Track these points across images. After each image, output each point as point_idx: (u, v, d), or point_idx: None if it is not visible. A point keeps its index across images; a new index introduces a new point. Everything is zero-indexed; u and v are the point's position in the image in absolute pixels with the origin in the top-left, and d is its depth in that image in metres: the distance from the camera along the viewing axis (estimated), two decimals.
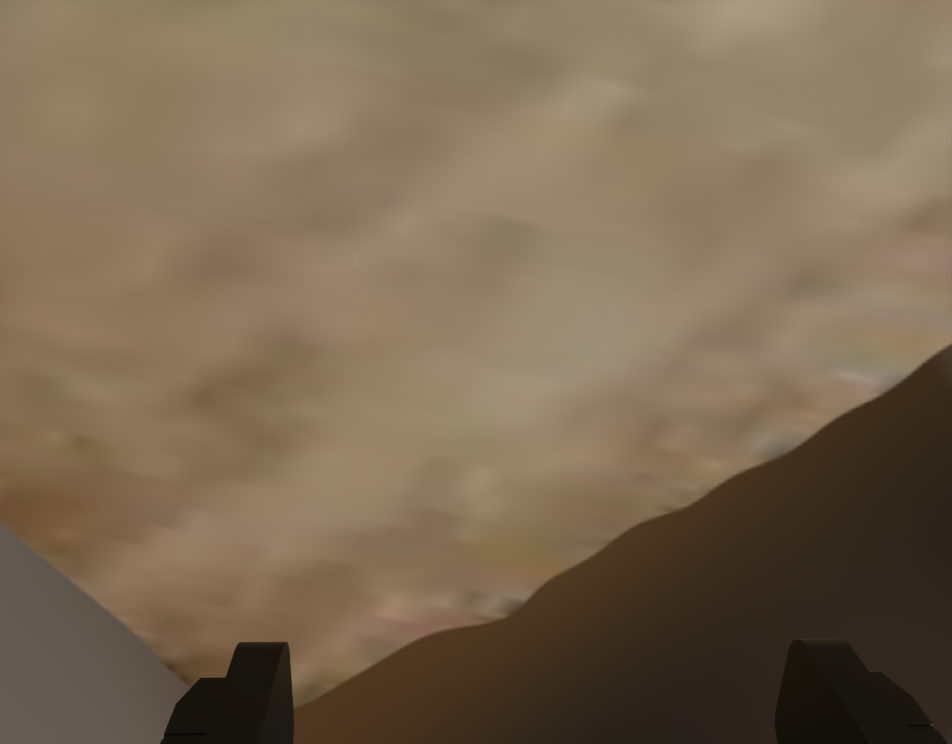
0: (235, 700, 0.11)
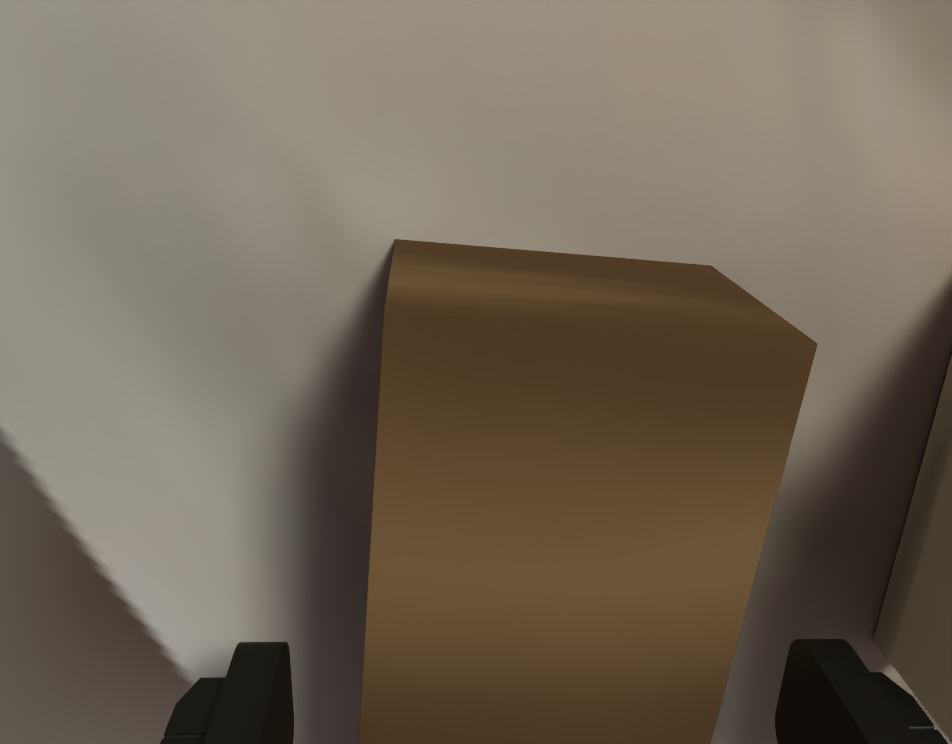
0: (235, 700, 0.11)
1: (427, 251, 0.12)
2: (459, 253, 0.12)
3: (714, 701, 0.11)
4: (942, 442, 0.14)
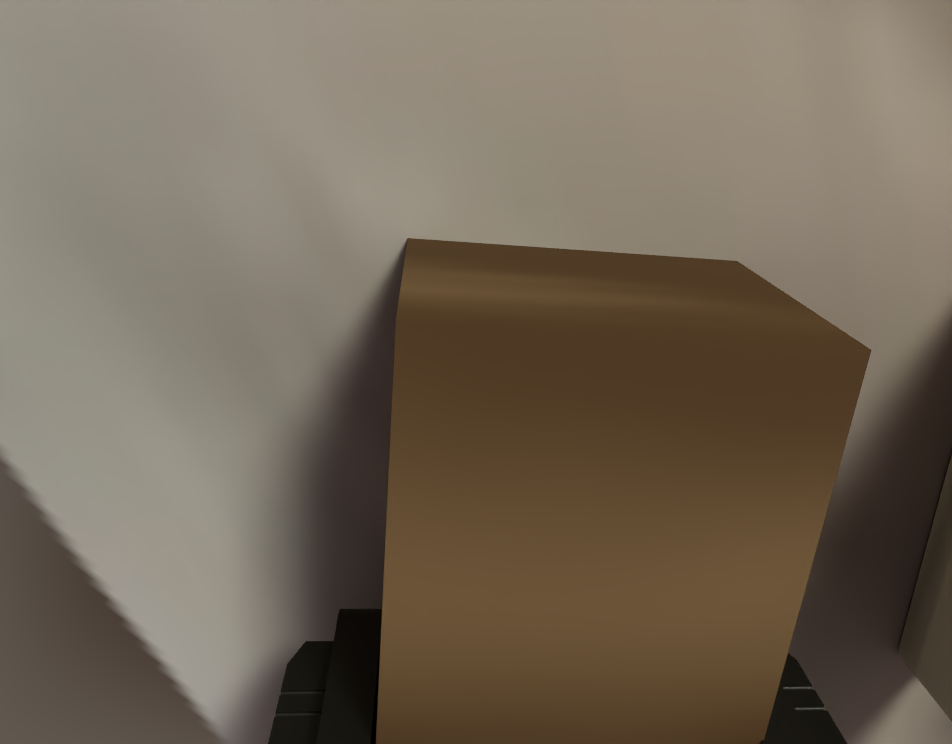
0: (347, 659, 0.11)
1: (441, 254, 0.11)
2: (476, 256, 0.11)
3: (757, 736, 0.10)
4: None
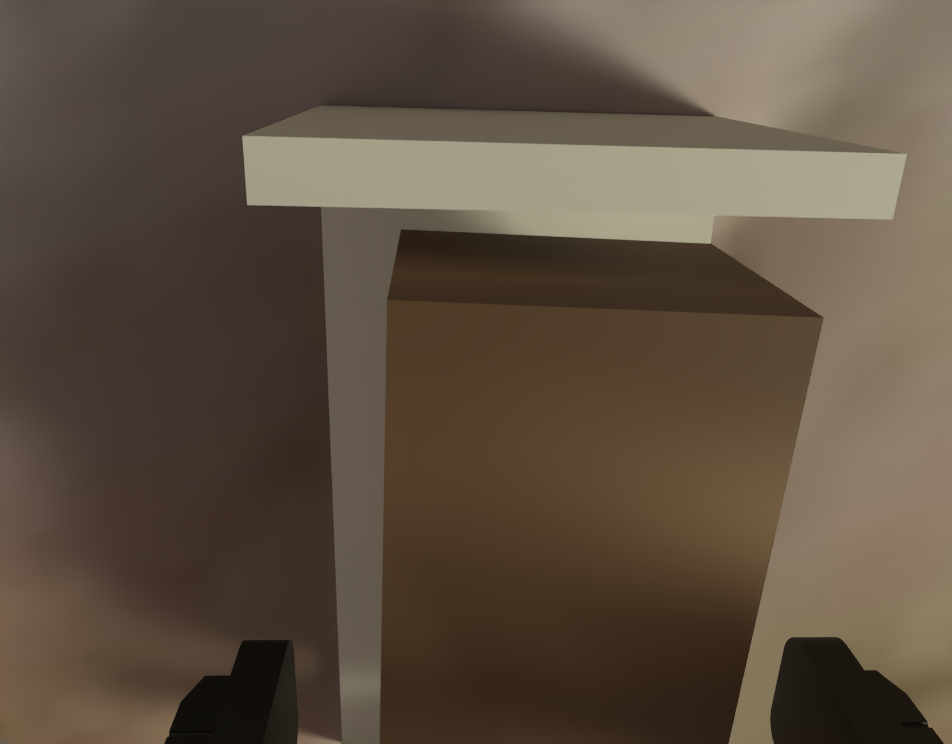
0: (240, 698, 0.11)
1: (432, 243, 0.12)
2: (465, 244, 0.12)
3: (734, 683, 0.11)
4: (549, 112, 0.16)
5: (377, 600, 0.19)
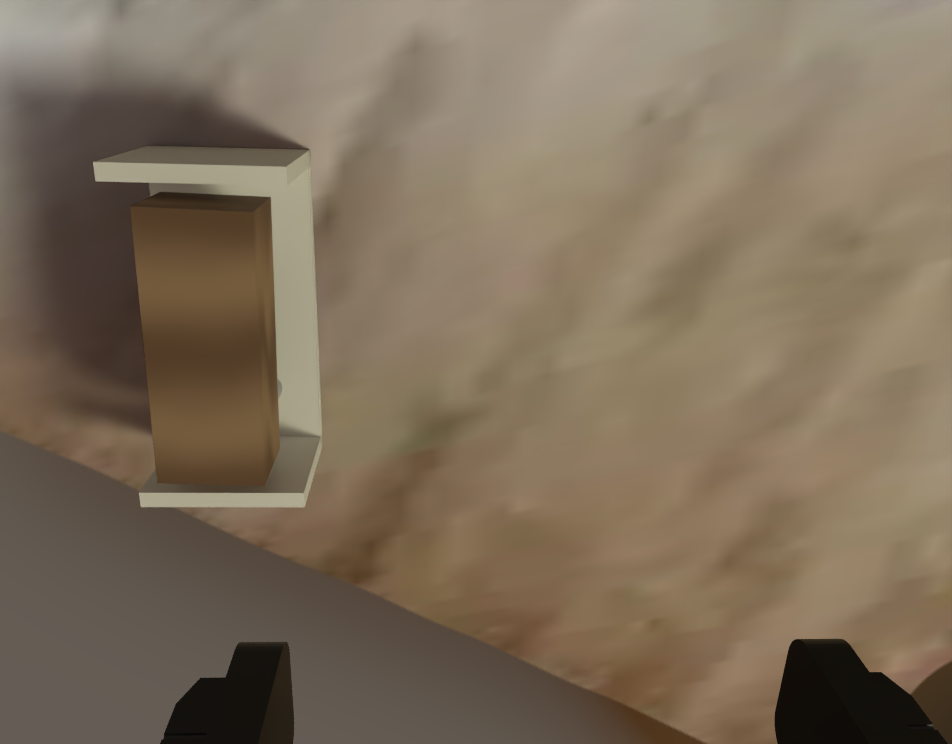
0: (235, 700, 0.11)
1: (165, 195, 0.36)
2: (176, 195, 0.36)
3: (256, 333, 0.35)
4: (238, 148, 0.40)
5: None
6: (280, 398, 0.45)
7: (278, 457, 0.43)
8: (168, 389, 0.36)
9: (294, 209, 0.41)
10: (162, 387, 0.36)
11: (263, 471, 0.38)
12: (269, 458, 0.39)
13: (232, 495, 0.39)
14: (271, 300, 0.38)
